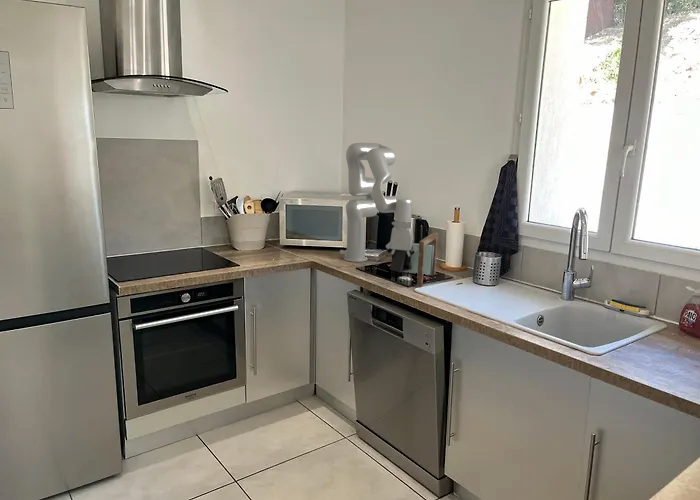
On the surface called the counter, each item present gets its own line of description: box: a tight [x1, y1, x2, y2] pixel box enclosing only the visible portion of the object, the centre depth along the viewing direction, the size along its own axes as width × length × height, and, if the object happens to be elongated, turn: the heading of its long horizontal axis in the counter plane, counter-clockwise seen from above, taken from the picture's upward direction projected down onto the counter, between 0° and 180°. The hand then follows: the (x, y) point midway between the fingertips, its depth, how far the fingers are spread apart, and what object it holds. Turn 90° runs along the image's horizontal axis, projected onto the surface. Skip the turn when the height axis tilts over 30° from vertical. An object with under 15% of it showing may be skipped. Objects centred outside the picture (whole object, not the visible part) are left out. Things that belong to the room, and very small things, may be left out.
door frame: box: [416, 231, 439, 288], centre depth 239 cm, size 2×26×20 cm, turn 157°
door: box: [403, 242, 434, 276], centre depth 251 cm, size 19×2×14 cm, turn 67°
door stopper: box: [389, 250, 412, 273], centre depth 246 cm, size 9×6×12 cm, turn 136°
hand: (401, 263), depth 247 cm, fingers closed on door stopper, 6 cm apart
